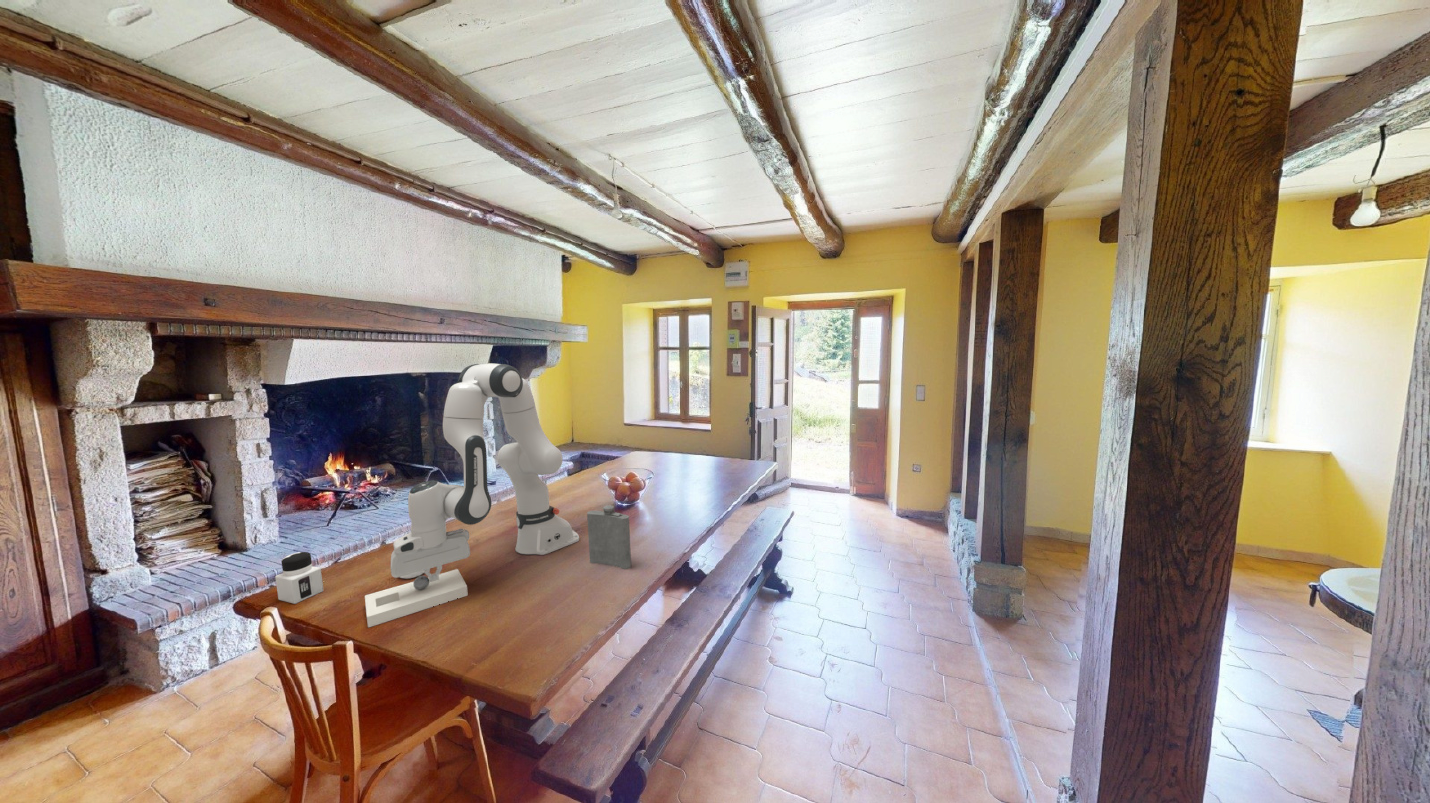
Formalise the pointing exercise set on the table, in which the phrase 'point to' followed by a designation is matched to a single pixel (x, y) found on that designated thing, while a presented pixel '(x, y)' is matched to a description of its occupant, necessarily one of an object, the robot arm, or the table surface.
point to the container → (298, 578)
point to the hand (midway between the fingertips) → (434, 580)
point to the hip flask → (609, 538)
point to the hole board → (413, 598)
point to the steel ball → (421, 582)
